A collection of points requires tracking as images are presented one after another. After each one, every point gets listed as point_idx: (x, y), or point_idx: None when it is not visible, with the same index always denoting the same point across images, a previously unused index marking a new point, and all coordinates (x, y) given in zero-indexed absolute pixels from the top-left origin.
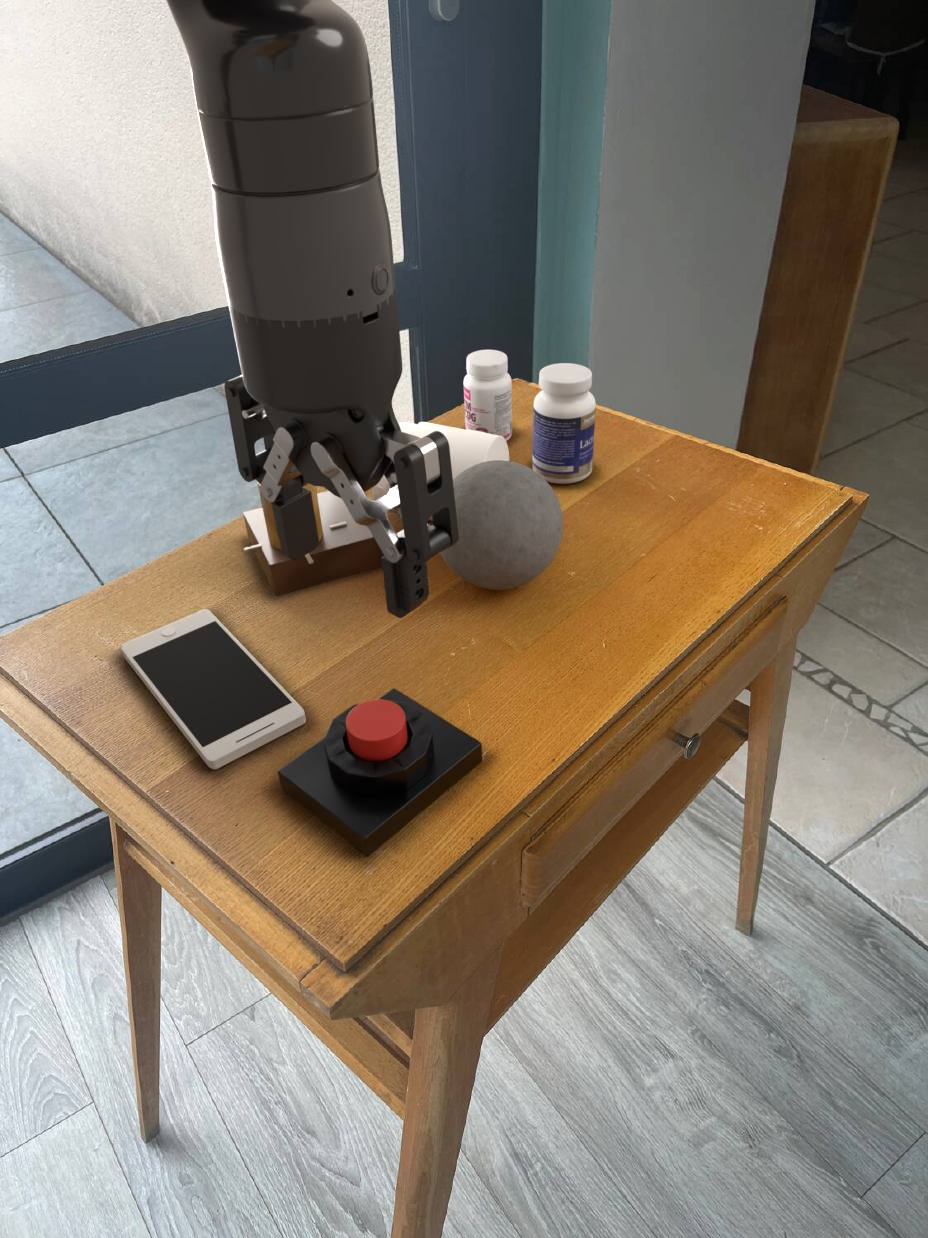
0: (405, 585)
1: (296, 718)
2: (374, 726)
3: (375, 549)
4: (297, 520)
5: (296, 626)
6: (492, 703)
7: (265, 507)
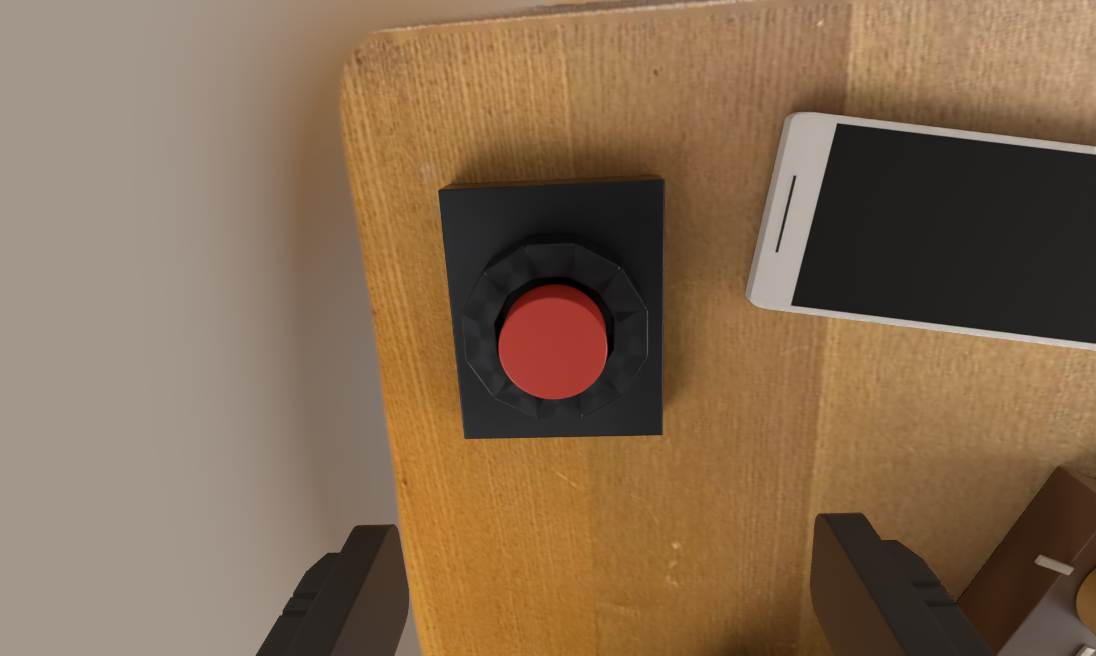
0: (290, 622)
1: (753, 286)
2: (538, 337)
3: None
4: (866, 648)
5: (956, 436)
6: (549, 507)
7: None
